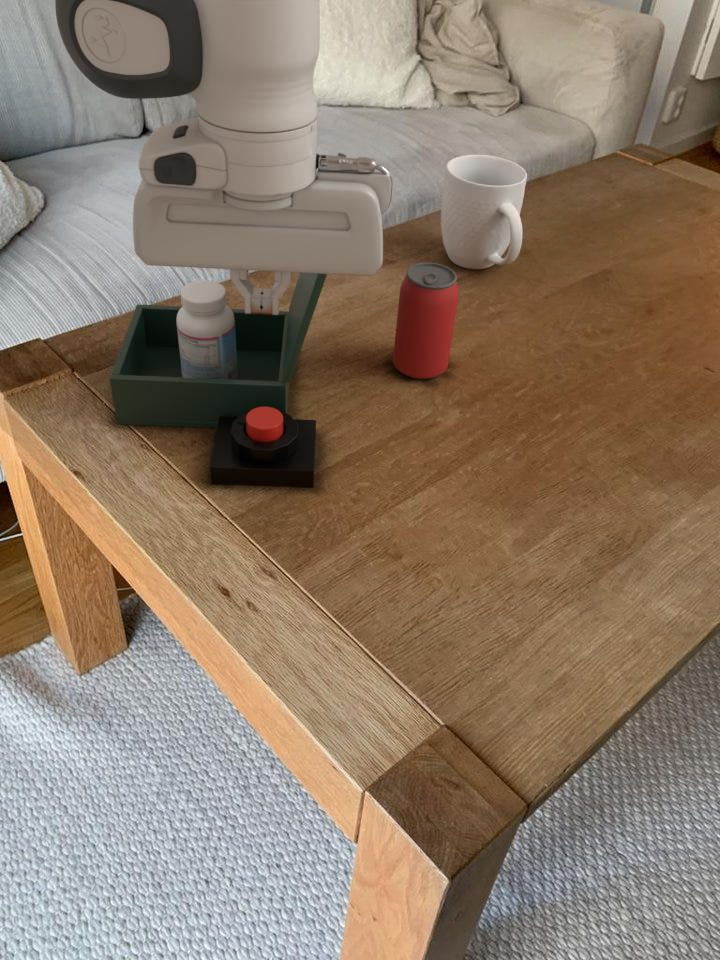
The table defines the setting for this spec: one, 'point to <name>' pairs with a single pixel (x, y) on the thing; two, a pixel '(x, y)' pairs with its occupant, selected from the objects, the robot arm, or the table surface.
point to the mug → (482, 210)
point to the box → (196, 401)
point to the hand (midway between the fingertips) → (262, 311)
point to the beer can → (425, 320)
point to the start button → (264, 424)
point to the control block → (264, 454)
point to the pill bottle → (206, 332)
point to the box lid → (301, 316)
